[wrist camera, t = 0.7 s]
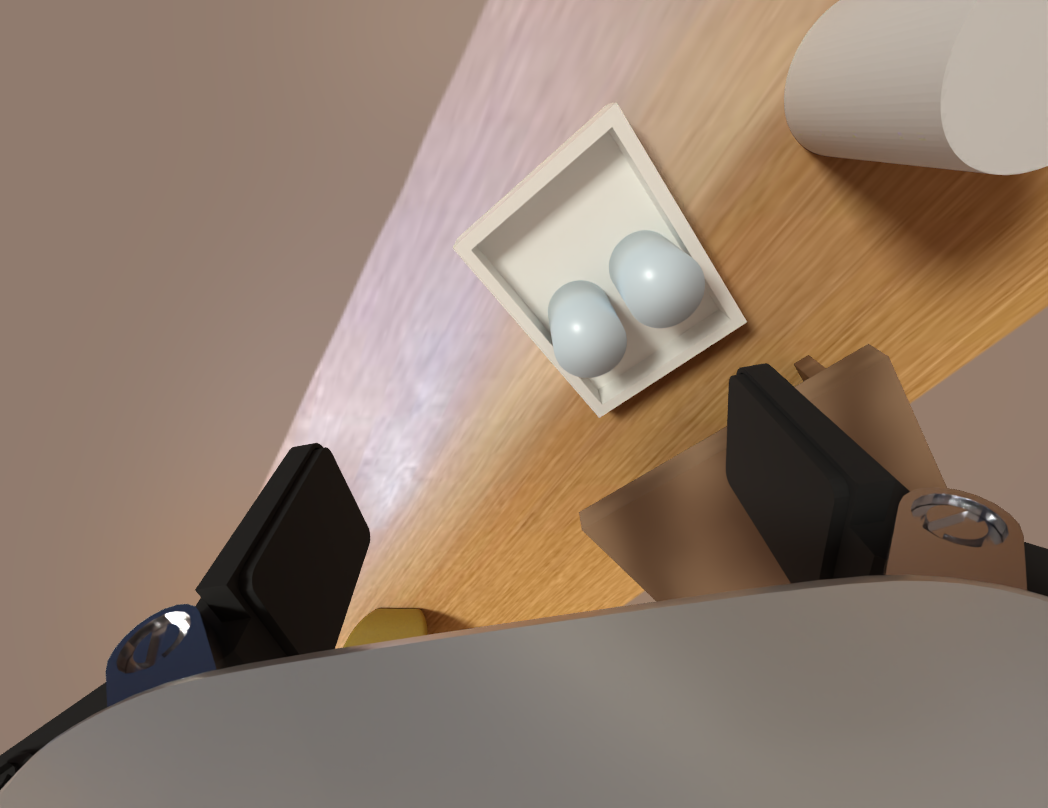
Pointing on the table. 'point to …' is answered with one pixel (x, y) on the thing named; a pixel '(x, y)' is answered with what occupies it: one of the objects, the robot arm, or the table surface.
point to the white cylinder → (925, 84)
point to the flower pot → (388, 626)
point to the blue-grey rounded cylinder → (585, 330)
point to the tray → (593, 252)
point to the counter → (715, 511)
